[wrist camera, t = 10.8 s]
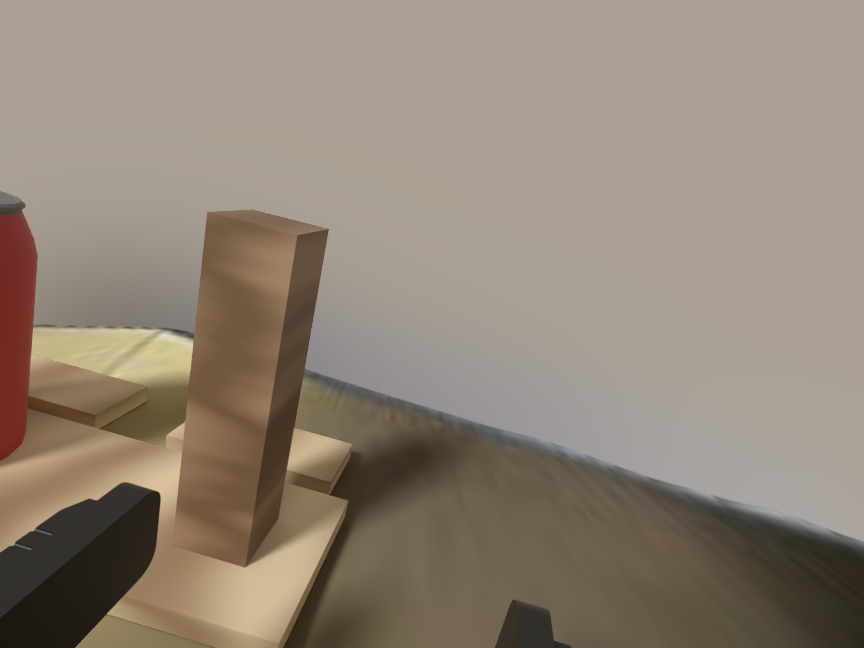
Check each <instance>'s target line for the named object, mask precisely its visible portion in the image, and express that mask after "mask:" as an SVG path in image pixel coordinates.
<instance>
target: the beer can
mask: <svg viewBox="0 0 864 648" xmlns="http://www.w3.org/2000/svg"><path fill="white" fill-rule="evenodd" d="M23 208H25V203H23V202H22V201H21V200H20V199H19V198H18V197H15V196H12V195H10V194H7V193H4V192H1V191H0V461H1V460H3V459H5V458H7V457H8V456H9V455H10V454H11V453H12V452H14V451H15V450H16V449H17V448H18V447H19V446H20V445H21V444H22V442H23V439H24V436H25V433H26V424H27V409H28V393H29V378H30V363H31V348H32V333H33V317H34V316H33V315H34V302H35V286H36V272H37V257H38V256H37V251H36V247H35V242H34V238H33V236H32V233H31V231H30V229H29V226H28V224H27V221H26V219H25V217H24V215H23V213H22V209H23Z"/></svg>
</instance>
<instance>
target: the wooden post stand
mask: <svg viewBox="0 0 864 648" xmlns="http://www.w3.org/2000/svg"><path fill="white" fill-rule="evenodd" d="M328 231H329V230H328V229H326V228H322V227H318V226H314V225H310V224H306V223H302V222H298V221H295V220H291V219H287V218H283V217H279V216H275V215H271V214H267V213H263V212H259V211H255V210H239V211H217V212H207V220H206V230H205V239H204V249H203V258H202V269H201V277H200V288H199V297H198V306H197V315H196V325H195V334H194V344H193V353H192V363H191V372H190V382H189V391H188V401H187V410H186V420H185V429H184V439H183V448H182V453H181V452H178V451H174V450H171V449H167V448H164V447H161V446H157V445H154V444H150V443H147V442H143V441H140V440H136V439H133V438H129V437H126V436H122V435H119V434H115V433H112V432H108V431H105V430H101V429H98V428H95V427H91V426H88V425H84V424H81V423H77V422H74V421H70V420H67V419H63V418H60V417H56V416H53V415H49V414H46V413H42V412H39V411H35V410H32V409H27V424H26V433H25V436H24V439H23V442H22V444H21V445H20V446H19V447H18V448H17V449H16V450H15V451H14V452H12V453H11V454H10V455H9V456H8V457H7V458H5V459H3V460H1V461H0V552H2V551H3V550H4V549H6V548H7V547H9V546H13V545H14V544H15V542H16V541H17V540H19V539H20V538H21V537H23V536H24V535H26V534H27V533H29V532H30V531H34V530H35V529H36V527H37V526H38V525H40V524H41V523H43V522H44V521H46V520H47V519H48V518H50V517H51V516H53V515H54V514H55V513H57V512H58V511H60V510H62V509H64V508H67V507H69V506H72V505H74V504H77V503H79V502H82V501H84V500H87V499H89V498H90V499H94V500H98V499H100V498H101V497H102V496H104V495H105V494H106V493H108V492H109V491H110V490H112V489H113V488H114V487H116V486H117V485H119V484H120V483H123V482H128V483H132V484H135V485H138V486H142V487H145V488H148V489H152V490H155V491H158V492H159V493H160V496H161V503H160V513H159V523H158V533H157V544H156V550H155V554H154V556H153V559H152V561H151V563H150V565H149V567H148V569H147V570H146V572H145V573H144V574H143V576H142V577H141V578H140V579H139V580H138V581H137V583H136V584H135V585H134V586H133V587H132V588H131V589H130V590H129V591H128V592H127V593H126V594H125V595H124V596H123V597H122V598H121V599H120V600H119V602H118V603H117V604H116V605H115V606H114V607H113V608H112V609H111V610H110V611H109V612H108V613H107V614H109V615H112V616H116V617H119V618H122V619H125V620H128V621H132V622H135V623H138V624H141V625H144V626H148V627H151V628H154V629H157V630H160V631H164V632H167V633H170V634H173V635H177V636H180V637H183V638H186V639H189V640H193V641H196V642H199V643H202V644H205V645H209V646H212V647H215V648H283V647H284V645H285V643H286V641H287V639H288V637H289V635H290V633H291V630H292V628H293V626H294V624H295V622H296V620H297V618H298V616H299V613H300V611H301V609H302V607H303V605H304V603H305V601H306V599H307V596H308V594H309V592H310V590H311V588H312V586H313V584H314V582H315V579H316V577H317V575H318V573H319V571H320V569H321V567H322V565H323V562H324V560H325V558H326V556H327V554H328V552H329V550H330V548H331V545H332V543H333V541H334V539H335V537H336V535H337V533H338V531H339V528H340V526H341V524H342V522H343V520H344V518H345V514H346V509H347V505H348V500H345V499H341V498H338V497H334V496H331V495H327V494H324V493H320V492H317V491H313V490H310V489H306V488H303V487H299V486H296V485H293V484H289V483H286V482H285V477H286V472H287V466H288V460H289V454H290V449H291V443H292V437H293V431H294V426H295V420H296V414H297V408H298V403H299V397H300V391H301V385H302V380H303V374H304V368H305V363H306V356H307V351H308V345H309V340H310V334H311V328H312V322H313V316H314V311H315V305H316V299H317V293H318V288H319V282H320V276H321V271H322V265H323V259H324V253H325V248H326V242H327V236H328Z"/></svg>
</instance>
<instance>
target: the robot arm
mask: <svg viewBox="0 0 864 648" xmlns="http://www.w3.org/2000/svg"><path fill="white" fill-rule="evenodd" d="M160 503H161V496H160V493H159V492H158V491H155V490H152V489H148V488H145V487H142V486H138V485H135V484H132V483H128V482H123V483H120V484H119V485H117V486H116V487H114V488H113V489H112V490H110V491H109V492H108V493H106V494H105V495H104V496H102V497H101V498H100V499H98V500H94V499H90V498H89V499H87V500H84V501H82V502H79V503H77V504H74V505H72V506H69V507H67V508H64V509H62V510H60V511H58V512H57V513H55V514H54V515H53V516H51V517H50V518H48V519H47V520H46V521H44V522H43V523H41V524H40V525H38V526H37V527H36V529H35V530H34V531H30V532H29V533H27V534H26V535H24V536H23V537H21V538H20V539H19V540H17V541H16V542H15V544H14V545H13V546H9V547H7V548H6V549H4V550H3V551H2V552H0V648H75V647H76V646H77V645H78V644H79V643H80V642H81V641H82V640H83V639H84V638H85V636H86V635H87V634H88V633H89V632H90V631H91V630H92V629H93V628H94V627H95V626H96V625H97V624H98V623H99V622H100V621H101V620H102V618H103V617H104V616H105V615H106V614H107V613H108V612H109V611H110V610H111V609H112V608H113V607H114V606H115V605H116V604H117V603H118V602H119V600H120V599H121V598H122V597H123V596H124V595H125V594H126V593H127V592H128V591H129V590H130V589H131V588H132V587H133V586H134V585H135V584H136V583H137V581H138V580H139V579H140V578H141V577H142V576H143V574H144V573H145V572H146V570H147V569H148V567H149V565H150V563H151V561H152V559H153V556H154V554H155V550H156V544H157V533H158V523H159V513H160ZM495 648H571V646H569V645H566V644H563V643H559V642H556V641H554V640H553V632H552V624H551V617H550V613H549V611H548V610H547V609H544V608H540V607H537V606H534V605H530V604H527V603H524V602H520V601H517V600H513V601H512V602H511V604H510V607H509V609H508V612H507V615H506V618H505V621H504V624H503V627H502V629H501V632H500V635H499V638H498V641H497V644H496V647H495Z"/></svg>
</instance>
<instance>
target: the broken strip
mask: <svg viewBox="0 0 864 648" xmlns="http://www.w3.org/2000/svg"><path fill="white" fill-rule="evenodd" d="M146 399H147V387H146V386H143V385H139V384H136V383H132V382H129V381H125V380H121V379H118V378H114V377H111V376H107V375H104V374H100V373H96V372H93V371H89V370H86V369H82V368H79V367H75V366H71V365H68V364H64V363H61V362H57V361H54V360H50V359H47V358H43V357H39V356H36V355H32V354H31V363H30V378H29V393H28V409H32V410H35V411H39V412H42V413H46V414H49V415H53V416H56V417H60V418H63V419H67V420H70V421H74V422H77V423H81V424H84V425H88V426H91V427H95V428H98V429H100V428H102V427H103V426H105V425H107V424H109V423H110V422H112V421H114V420H115V419H117V418H119V417H121V416H122V415H124V414H126V413H127V412H129V411H131V410H133V409H134V408H136V407H138V406H139V405H141V404H143V403H145V402H146ZM184 429H185V422H184V423H183V424H181V425H180V426H178V427H177V428H176V429H174V430H173V431H172V432H170V433H169V434H167V435H166V445H165V448H167V449H171V450H174V451H178V452H181V453H182V448H183V439H184ZM352 445H353V444H350V443H346V442H342V441H339V440H335V439H332V438H328V437H325V436H321V435H317V434H314V433H310V432H307V431H303V430H300V429H296V428H294V431H293V437H292V443H291V449H290V454H289V460H288V466H287V472H286V477H285V482H286V483H289V484H293V485H296V486H299V487H303V488H306V489H310V490H313V491H317V492H320V493H324V494H327V495H330V493H331V491H332V489H333V488H334V486H335V484H336V482H337V481H338V479H339V477H340V475H341V473H342V472H343V470H344V468H345V466H346V464H347V463H348V461H349V459H350V454H351V450H352Z"/></svg>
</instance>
